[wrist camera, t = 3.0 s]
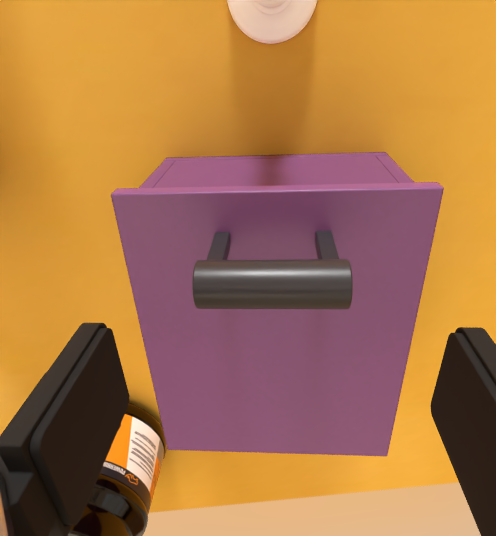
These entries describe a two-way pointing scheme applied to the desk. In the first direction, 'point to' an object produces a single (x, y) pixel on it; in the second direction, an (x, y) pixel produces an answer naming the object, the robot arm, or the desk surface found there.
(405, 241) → the lid
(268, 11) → the chess piece
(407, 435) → the desk surface
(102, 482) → the supplement container
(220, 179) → the box
